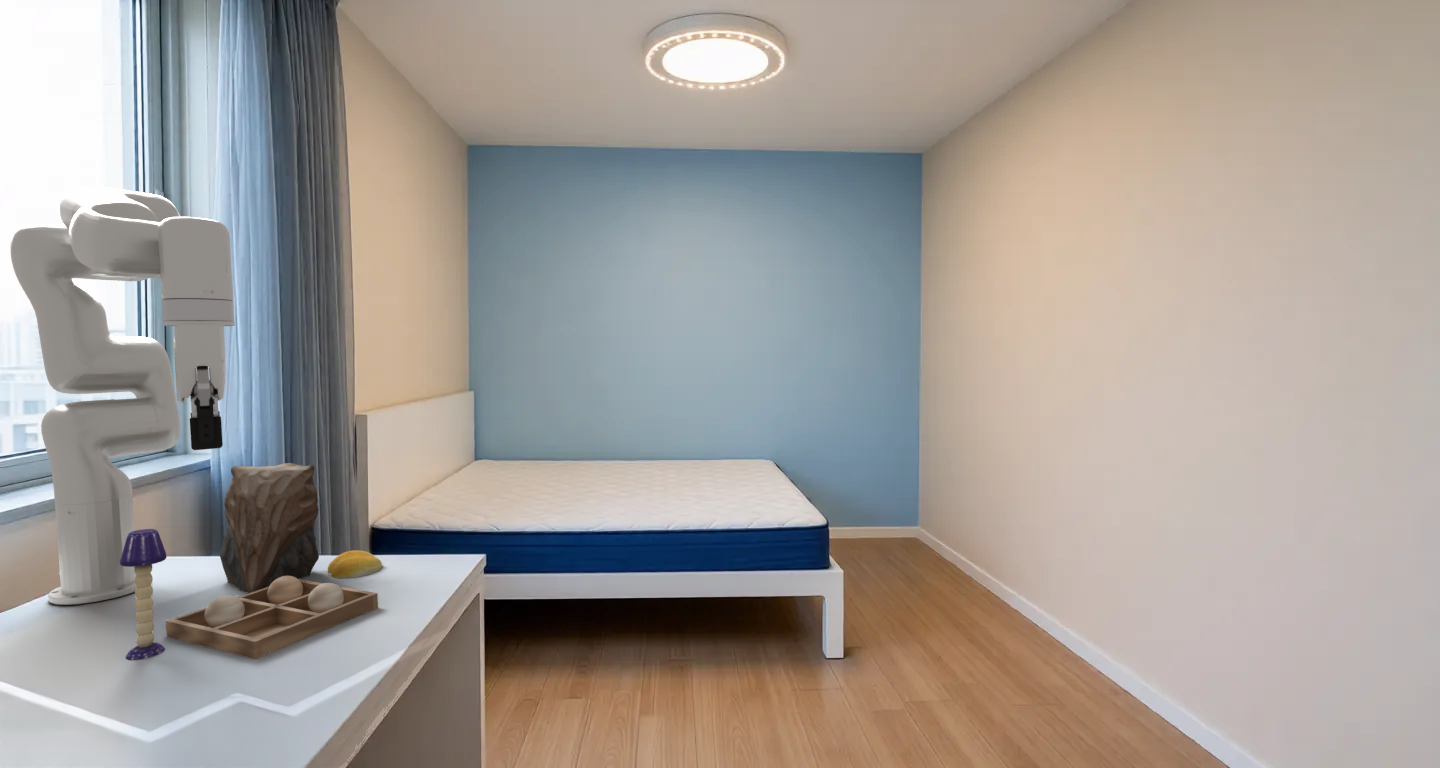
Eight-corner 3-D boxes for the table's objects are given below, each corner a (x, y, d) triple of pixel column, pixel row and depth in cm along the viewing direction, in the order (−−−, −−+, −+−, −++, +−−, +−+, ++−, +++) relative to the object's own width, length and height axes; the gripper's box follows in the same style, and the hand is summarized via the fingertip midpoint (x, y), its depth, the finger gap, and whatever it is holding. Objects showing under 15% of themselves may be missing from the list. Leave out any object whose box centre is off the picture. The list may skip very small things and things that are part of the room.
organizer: (167, 642, 96) (165, 620, 96) (294, 596, 113) (293, 578, 113) (256, 665, 89) (254, 641, 89) (378, 612, 106) (377, 593, 105)
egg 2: (261, 609, 105) (259, 579, 105) (290, 599, 110) (288, 570, 109) (281, 614, 104) (280, 583, 103) (310, 603, 108) (309, 573, 107)
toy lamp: (143, 650, 93) (135, 526, 92) (181, 649, 94) (173, 525, 93) (115, 667, 89) (107, 536, 88) (155, 665, 89) (147, 535, 88)
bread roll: (336, 587, 118) (335, 563, 118) (324, 574, 125) (323, 552, 124) (389, 575, 123) (388, 553, 123) (374, 564, 130) (373, 542, 130)
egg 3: (301, 618, 102) (299, 586, 102) (329, 606, 106) (328, 576, 106) (323, 622, 100) (321, 590, 100) (351, 611, 104) (350, 580, 104)
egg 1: (197, 632, 97) (195, 599, 97) (232, 620, 101) (230, 588, 101) (219, 637, 95) (217, 604, 95) (253, 624, 100) (251, 592, 99)
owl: (218, 584, 119) (211, 467, 118) (299, 565, 129) (293, 457, 128) (247, 600, 112) (240, 475, 110) (331, 578, 122) (325, 463, 120)
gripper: (165, 317, 97) (173, 440, 98) (159, 311, 83) (168, 455, 84) (232, 317, 101) (238, 435, 102) (236, 312, 87) (244, 449, 88)
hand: (207, 444), depth 93 cm, fingers open, 9 cm apart
